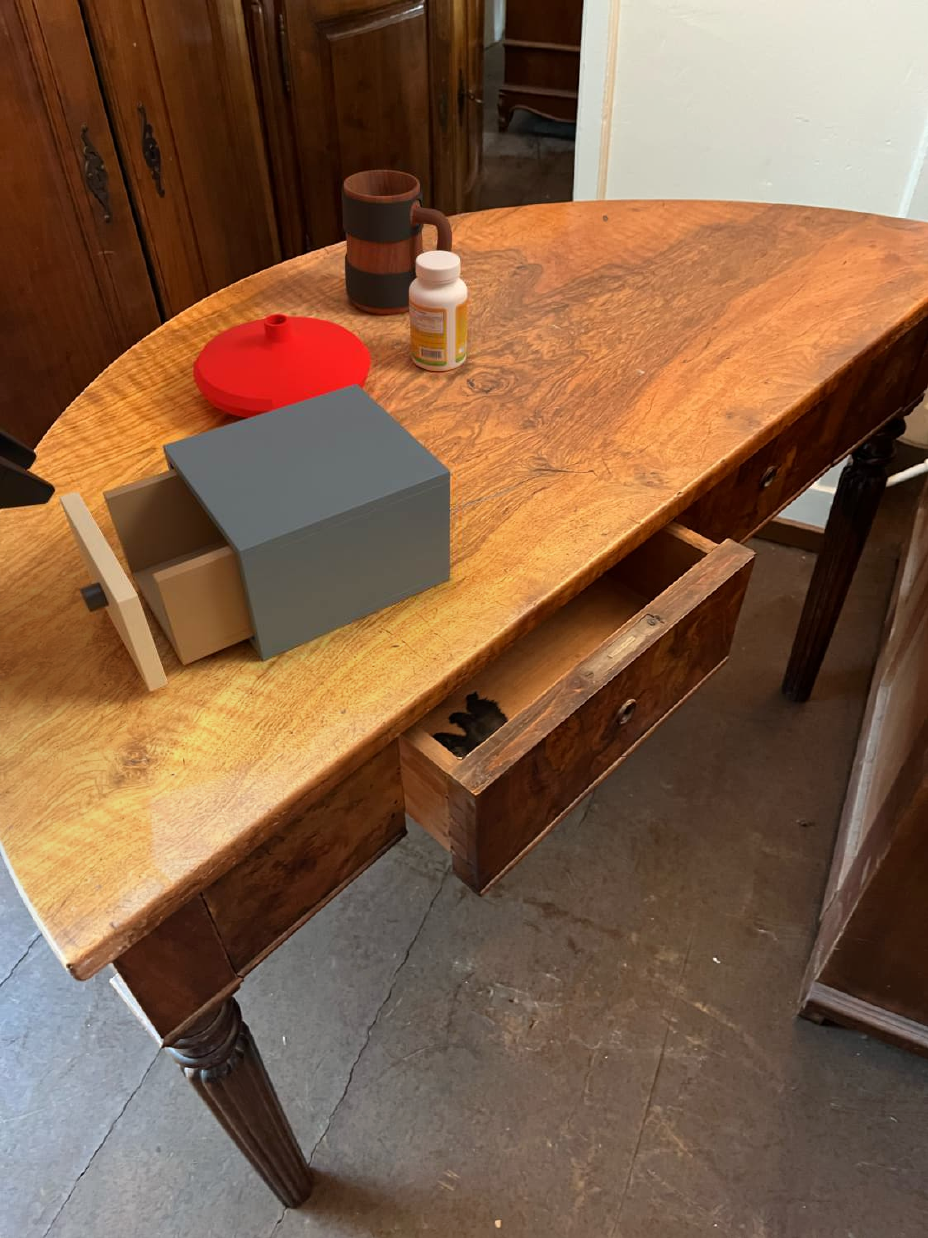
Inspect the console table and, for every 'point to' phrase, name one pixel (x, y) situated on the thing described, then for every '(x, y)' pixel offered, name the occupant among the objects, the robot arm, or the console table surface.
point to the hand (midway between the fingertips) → (41, 477)
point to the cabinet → (321, 512)
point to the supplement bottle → (438, 312)
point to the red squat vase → (278, 364)
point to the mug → (385, 238)
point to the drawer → (162, 572)
